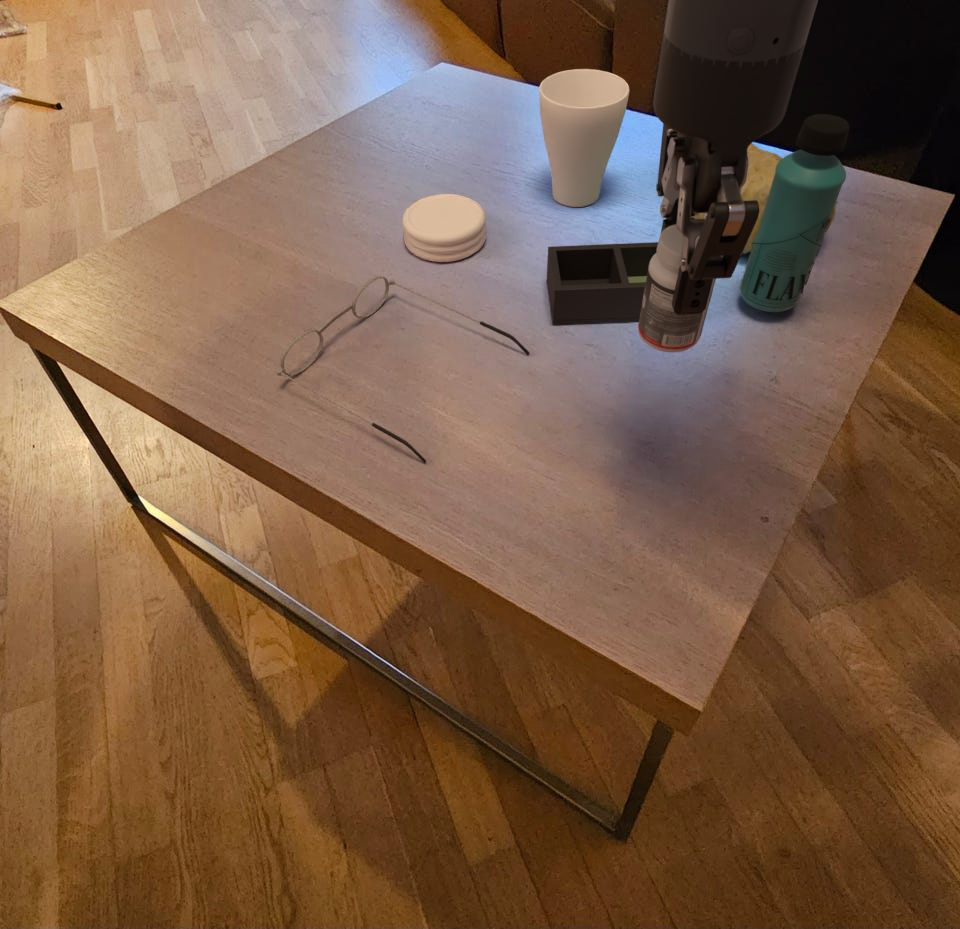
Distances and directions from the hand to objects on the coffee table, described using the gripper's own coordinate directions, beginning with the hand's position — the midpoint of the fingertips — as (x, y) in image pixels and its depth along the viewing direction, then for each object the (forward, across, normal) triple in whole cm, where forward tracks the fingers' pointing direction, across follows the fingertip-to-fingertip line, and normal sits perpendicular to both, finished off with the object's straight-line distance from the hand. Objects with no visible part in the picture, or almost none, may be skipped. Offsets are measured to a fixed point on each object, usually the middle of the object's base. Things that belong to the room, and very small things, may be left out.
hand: (678, 286), depth 52 cm
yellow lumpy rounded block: (+18, +34, -19) cm, 43 cm away
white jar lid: (+18, +35, +18) cm, 44 cm away
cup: (+18, +44, 0) cm, 48 cm away
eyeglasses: (+18, +12, +22) cm, 31 cm away
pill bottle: (+5, 0, 0) cm, 5 cm away
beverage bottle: (+18, +20, -17) cm, 32 cm away
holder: (+18, +22, -1) cm, 29 cm away
